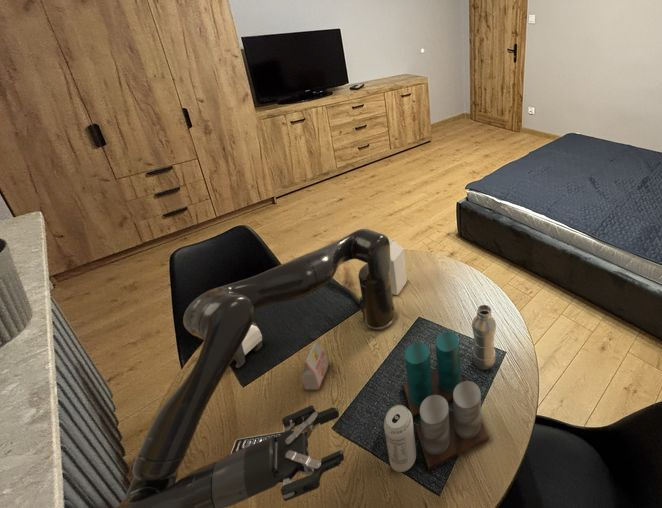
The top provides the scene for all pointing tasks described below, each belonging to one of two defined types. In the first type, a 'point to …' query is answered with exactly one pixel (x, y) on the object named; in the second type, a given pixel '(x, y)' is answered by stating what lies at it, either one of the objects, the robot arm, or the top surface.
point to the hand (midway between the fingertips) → (340, 432)
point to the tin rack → (451, 424)
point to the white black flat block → (252, 441)
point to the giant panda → (248, 345)
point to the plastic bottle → (484, 338)
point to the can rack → (437, 381)
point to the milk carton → (397, 267)
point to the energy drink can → (400, 438)
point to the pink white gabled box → (314, 368)
